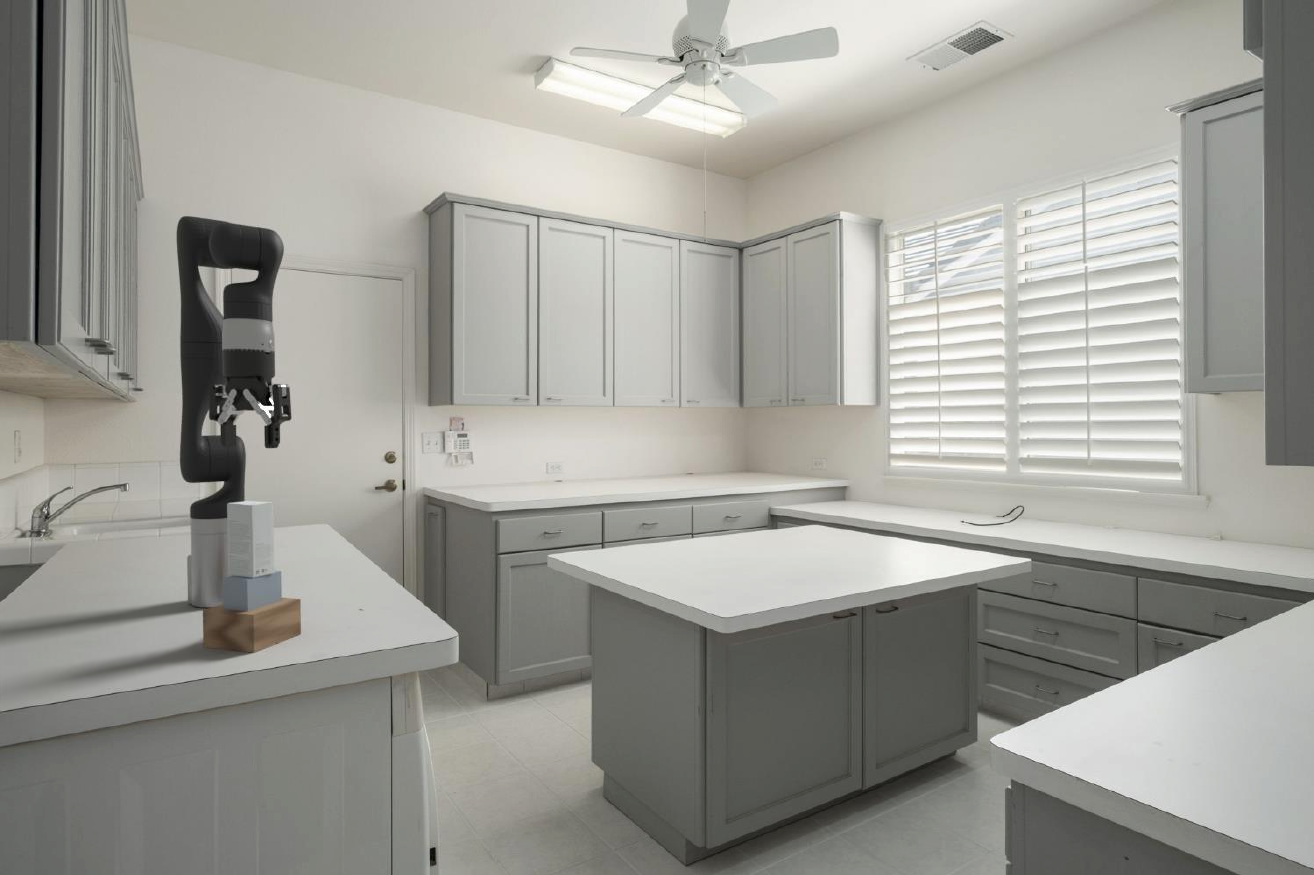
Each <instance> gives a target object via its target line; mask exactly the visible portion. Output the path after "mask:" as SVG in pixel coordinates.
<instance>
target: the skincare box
mask: <svg viewBox="0 0 1314 875" xmlns="http://www.w3.org/2000/svg"><path fill="white" fill-rule="evenodd" d="M274 522H275V521H274V502H273V501H272V502H271V501H260V500H259V501H258V500H257V501H256V500H254V501H253V500H245V501H243V502H234V503H228V504H227V526H228V575H231V576H240V577H249V578H255V577H260V576H264V575H268V574H273V573H274V572H275V571H276V570H275V527H274Z"/></svg>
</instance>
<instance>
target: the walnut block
mask: <svg viewBox="0 0 1314 875" xmlns="http://www.w3.org/2000/svg"><path fill="white" fill-rule="evenodd" d="M301 604H302V603H301V599H300V598H289V597H282V601H279V602H275V603H272V604H269V605H266V606H263V607H260V608H257V609H253V610H250V611H240V610H229V609H223V604H222V605H218V606H215V607H207V608H206V609H202V628H203V629H202V632H203V633H202V637H203V639H202V640H203V645H202V646H203V648H209V649H219V650H227V651H235V652H243V653H244V652H247V653H257V652H259V651H262V650H264V649H267V648H270V647H272V646H274V645H273V644H275V645H276V643H277V644H279V643H282V642H285V641H286V640H290V639H292V638H294V636H295V637H296V636H300V635H301V634H302V618H301V617H302V615H301V614H302V612H301ZM291 637H292V638H291ZM289 638H290V639H289ZM284 640H285V641H284Z"/></svg>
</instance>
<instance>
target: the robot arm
mask: <svg viewBox="0 0 1314 875" xmlns="http://www.w3.org/2000/svg"><path fill="white" fill-rule="evenodd" d="M175 240H176V251H177V252H176V253H177V266H178V276H179V277H178V278H179V280H178V281H179V290H180V334H179V336H180V337H179V340H180V342H179V345H180V346H179V348H180V350H179V351H180V356H179V357H180V360H179V361H180V372H181V373H180V374H181V394H182V395H181V397H182V400H181V401H182V402H181V404H182V405H181V406H182V408H181V428H180V443H179V444H180V445H179V467H180V472H181V476H182V478H183V480H184V481H185V482H187V483H188V484H198V483H199V484H200V483H201V484H202V483H203V484H204V483H218V482H223V485H222V486H221V488H220V489H219V490H217V491H216V492H214V493H213V494H211V495H209V496H207V497H204V498H201V499H198V500H196V501H194V502H192V503H191V504H190V507H189V515H190V516H189V518H190V519H189V520H190V554H188V556H187V557H186V567H187V568H186V570H187V603H188V604H190V605H192V606H193V607H195V608H196V607H197V608H212V607H215V606H218V605H222V604H223V579H222V578H225V577H229V576H231V575H228V526H227V504H228V503H234V502H243V501H246V499H245V497H246V496H245V491H246V490H245V489H246V488H245V487H246V486H245V483H246V482H245V481H246V479H245V478H246V466H247V465H246V464H247V460H246V459H247V458H246V457H247V454H246V453H247V452H246V446H245V442H244V440H243V439H242V437H240V436H239V435H237V424H235V423H236V422H237V420H238V419H239V417H240V416H241V415H242V414H244V413H245V412H247V411H250V412H251V411H254V412H255V413H256V414H257V415H259V416H260V417H261V418H262V420H263V421H264V423H265V425H264V427H263V428H264V431H263V432H264V433H263V434H264V447H265V448H266V449H278V448H279V445H280V444H281V424H283V423H285V422H290V421H291V420H292V404H291V403H292V402H291V390H290V385H289V384H286V383H285V384H284V383H273V380H272V379H273V378H275V376H276V351H275V350H276V348H275V347H276V346H275V345H276V344H275V342H276V341H275V332H274V325H273V322H274V320H273V298H274V289H275V283H276V280H277V277H278V274H279V273H278V272H279V270H280V267H281V264H282V261H283V257H284V254H285V252H284V251H285V246H284V243H283V240H282V238H281V236H280V235H279V234H278V232H277V231H275V230H273V229H270V228H266V227H259V226H257V227H256V226H252V225H245V224H239V223H232V222H229V221H225V220H219V219H218V220H217V219H212V218H206V217H198V216H189V215H185V216H182V217H181V218H179V220H178V221H177V226H176V239H175ZM199 267H201V268H203V267H205V268H213V269H219V270H220V269H221V270H222V269H223V270H233V269H239V270H247V271H257V272H258V274H257V276H256V278H255V279H254V280H252V281H250V280H249V281H245V282H233V283H229V284H227V285H225V286H224V288H223V292H222V293H223V294H222V301H223V302H222V303H223V309H222V310H223V311H222V312H223V314H222V313H221V312H220V309H218V307H217V306H216V305H215V303H214V302H213V300H212V298H211V297H210V296H209V293H208V292H207V289H206V288H205V286H204V283H203V281H202V278H201V275H200V274H201V273H200V270H199ZM218 408H219V409H218ZM207 414H208V418H209V420H210V421H214V422H217V423H218V425H219V426H220V427H219V429H220V435H219V434H218V435H215V434H214V435H203V434H202V433H203V426H204V422H205V419H206V416H207Z"/></svg>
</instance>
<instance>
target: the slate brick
mask: <svg viewBox="0 0 1314 875" xmlns="http://www.w3.org/2000/svg"><path fill="white" fill-rule="evenodd" d="M222 579H223V609H229V610H240V611H250V610H253V609H257V608H260V607H263V606H266V605H269V604H272V603H275V602H279V601H282V598H283V596H282V594H283V593H282V586H283V585H282V570H275V572H274V573H273V574H268V575H264V576H260V577H255V578H249V577H240V576H229V577H225V578H222Z"/></svg>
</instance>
